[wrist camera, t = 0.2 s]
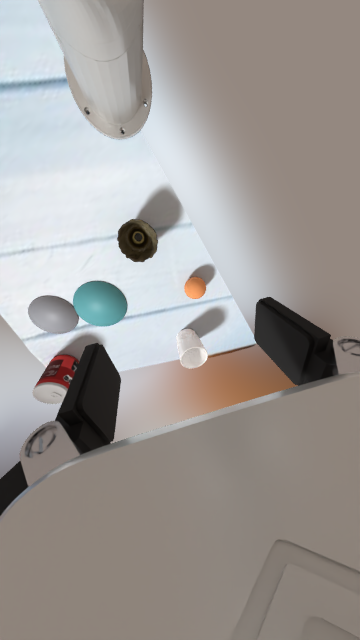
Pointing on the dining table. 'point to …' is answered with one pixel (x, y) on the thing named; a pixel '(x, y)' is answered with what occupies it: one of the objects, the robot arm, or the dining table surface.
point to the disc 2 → (100, 303)
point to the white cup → (190, 349)
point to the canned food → (56, 379)
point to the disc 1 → (53, 314)
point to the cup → (134, 248)
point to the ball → (195, 288)
